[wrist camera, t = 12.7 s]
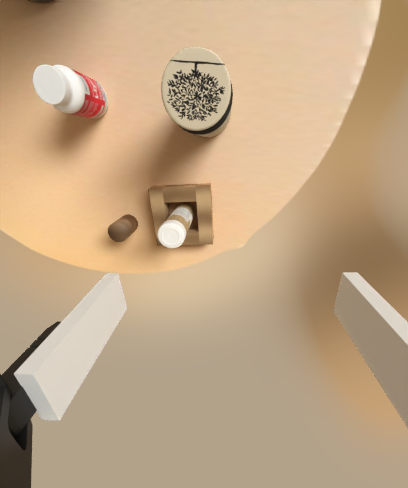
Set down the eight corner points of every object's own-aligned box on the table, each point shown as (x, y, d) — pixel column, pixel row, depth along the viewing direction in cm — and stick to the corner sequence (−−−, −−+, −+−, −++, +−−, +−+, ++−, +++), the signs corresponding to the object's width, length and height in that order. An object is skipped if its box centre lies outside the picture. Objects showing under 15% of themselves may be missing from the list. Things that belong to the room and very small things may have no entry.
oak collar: (153, 186, 46) (148, 189, 43) (210, 183, 45) (209, 186, 41) (161, 238, 51) (157, 245, 48) (213, 237, 50) (212, 244, 46)
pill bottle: (115, 101, 40) (79, 88, 30) (95, 126, 42) (55, 120, 32) (89, 70, 39) (41, 44, 29) (70, 97, 41) (18, 82, 31)
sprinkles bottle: (187, 226, 49) (174, 254, 37) (170, 214, 48) (151, 238, 36) (199, 211, 47) (189, 234, 35) (181, 198, 46) (166, 217, 34)
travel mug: (223, 142, 41) (222, 140, 25) (182, 131, 41) (154, 123, 25) (235, 92, 38) (243, 53, 22) (191, 80, 38) (164, 33, 22)
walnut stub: (119, 215, 49) (105, 223, 44) (136, 214, 49) (124, 223, 44) (122, 231, 51) (110, 242, 46) (139, 231, 51) (128, 241, 45)
